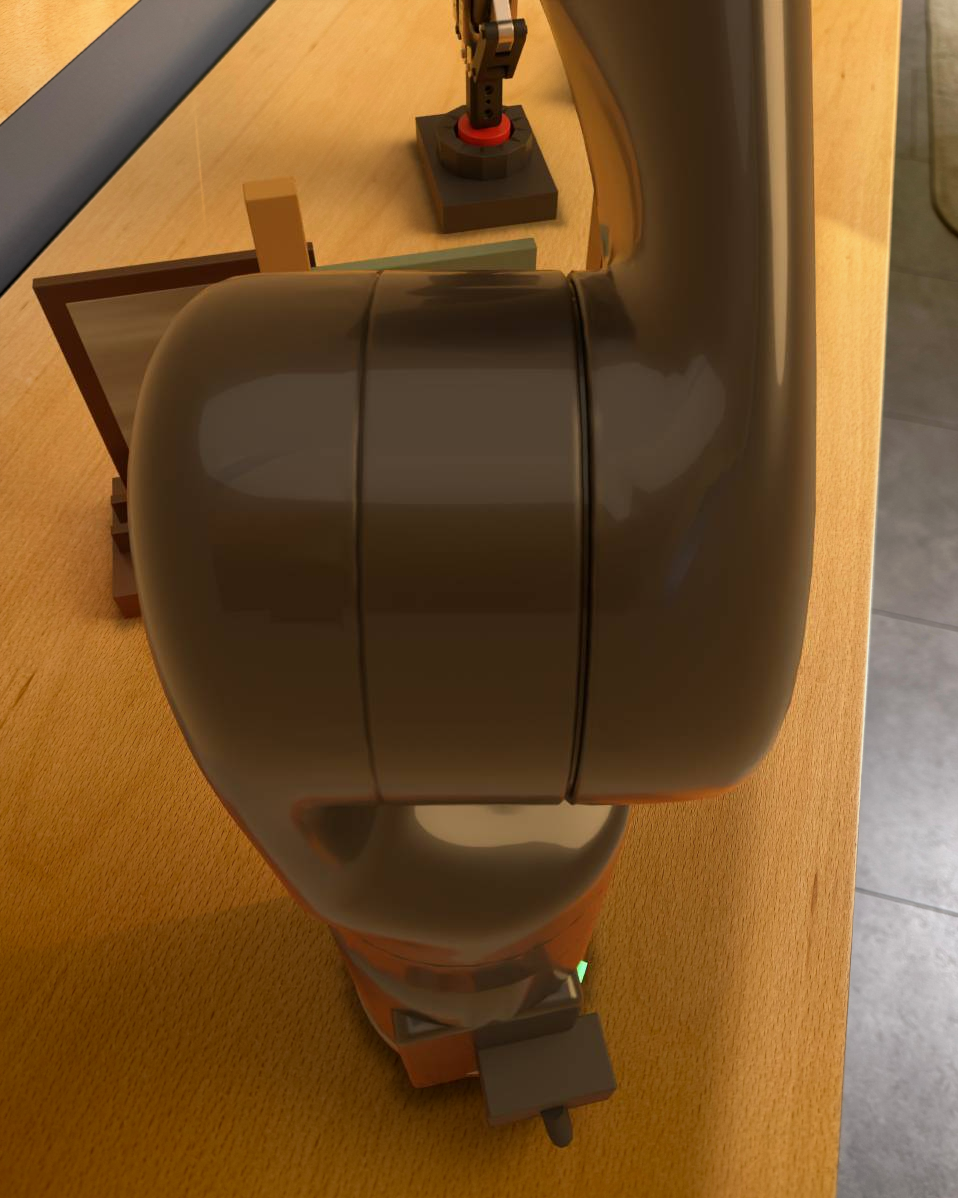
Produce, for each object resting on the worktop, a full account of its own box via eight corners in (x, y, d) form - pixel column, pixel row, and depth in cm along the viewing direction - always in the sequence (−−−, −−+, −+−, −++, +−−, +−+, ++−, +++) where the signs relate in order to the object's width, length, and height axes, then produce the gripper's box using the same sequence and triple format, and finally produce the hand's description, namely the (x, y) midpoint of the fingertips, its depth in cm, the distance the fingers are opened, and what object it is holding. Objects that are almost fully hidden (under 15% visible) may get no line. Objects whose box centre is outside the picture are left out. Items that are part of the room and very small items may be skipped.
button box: (556, 219, 69) (560, 167, 66) (443, 234, 68) (441, 182, 65) (520, 132, 75) (522, 79, 72) (416, 144, 74) (413, 92, 71)
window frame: (608, 536, 54) (665, 211, 37) (124, 619, 51) (-50, 307, 34) (571, 429, 58) (606, 96, 41) (122, 500, 55) (-33, 172, 39)
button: (514, 158, 69) (515, 134, 67) (464, 164, 68) (463, 140, 67) (503, 129, 71) (504, 105, 69) (454, 135, 70) (453, 111, 69)
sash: (526, 471, 53) (544, 162, 38) (312, 506, 52) (244, 200, 37) (521, 455, 54) (536, 144, 39) (310, 489, 52) (241, 181, 38)
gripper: (396, -222, 57) (413, 77, 71) (438, -126, 50) (448, 186, 64) (523, -233, 58) (515, 66, 72) (583, -139, 50) (561, 171, 65)
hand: (484, 122), depth 68 cm, fingers closed
